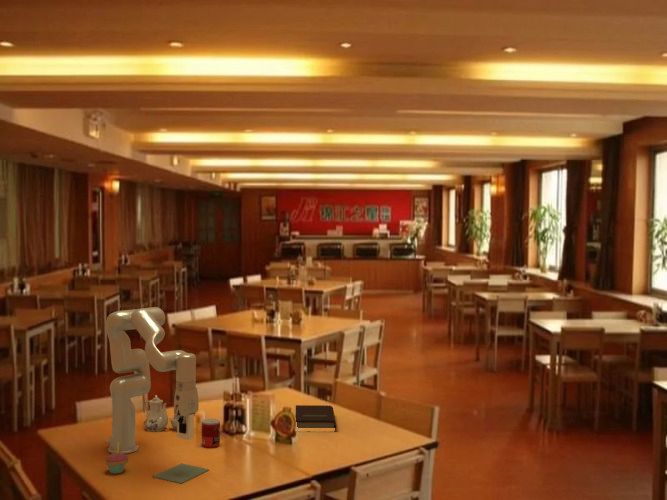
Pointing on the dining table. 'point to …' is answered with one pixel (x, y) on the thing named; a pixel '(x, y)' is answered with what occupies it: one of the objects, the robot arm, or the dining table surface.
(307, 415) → the book
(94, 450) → the dining table surface
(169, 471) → the mat
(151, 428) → the chinaware
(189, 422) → the slab
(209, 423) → the canned food
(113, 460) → the cupcake
